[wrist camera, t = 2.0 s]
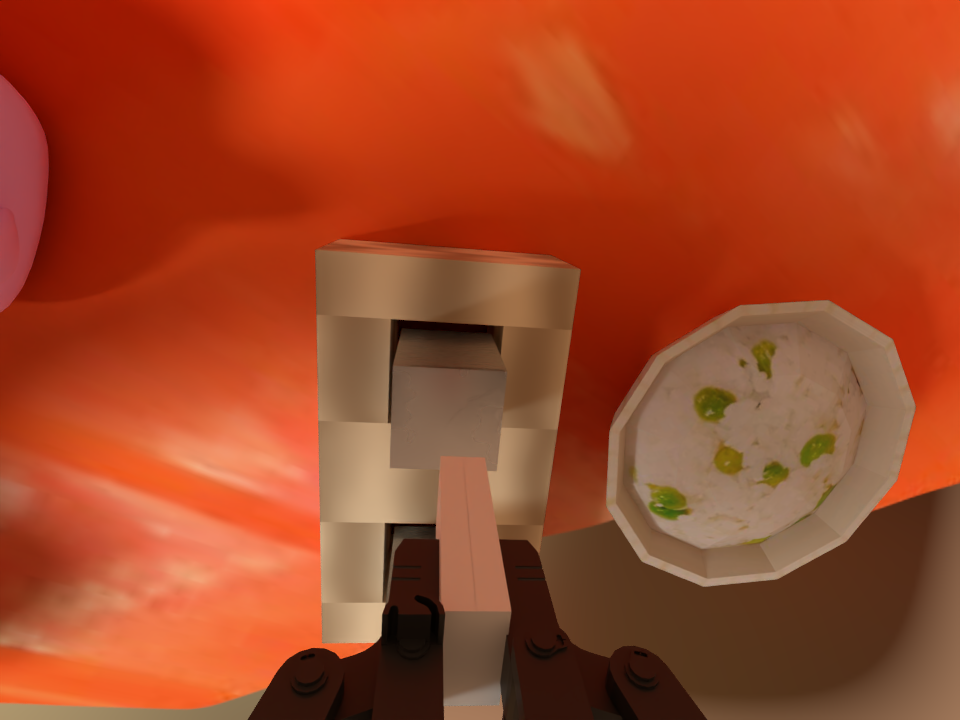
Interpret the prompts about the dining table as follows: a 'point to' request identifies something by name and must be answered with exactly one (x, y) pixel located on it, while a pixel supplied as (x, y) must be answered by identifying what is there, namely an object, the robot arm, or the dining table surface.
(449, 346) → the near peg
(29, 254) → the teapot
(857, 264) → the dining table surface
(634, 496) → the bowl
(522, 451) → the socket block
